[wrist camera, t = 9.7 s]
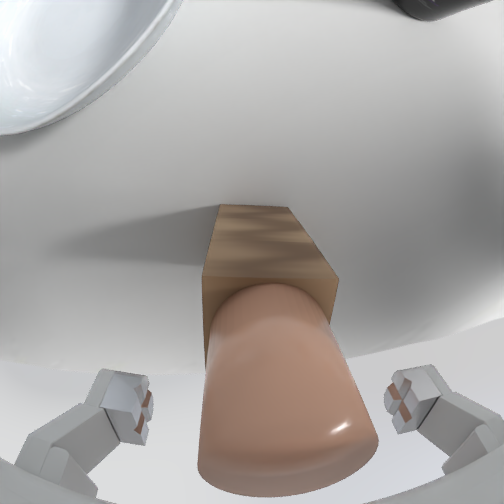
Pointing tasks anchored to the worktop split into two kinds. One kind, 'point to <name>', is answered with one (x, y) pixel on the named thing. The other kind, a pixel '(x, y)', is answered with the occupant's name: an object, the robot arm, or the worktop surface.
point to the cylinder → (279, 398)
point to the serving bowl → (70, 53)
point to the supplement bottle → (436, 7)
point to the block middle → (259, 230)
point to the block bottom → (255, 212)
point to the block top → (263, 273)
